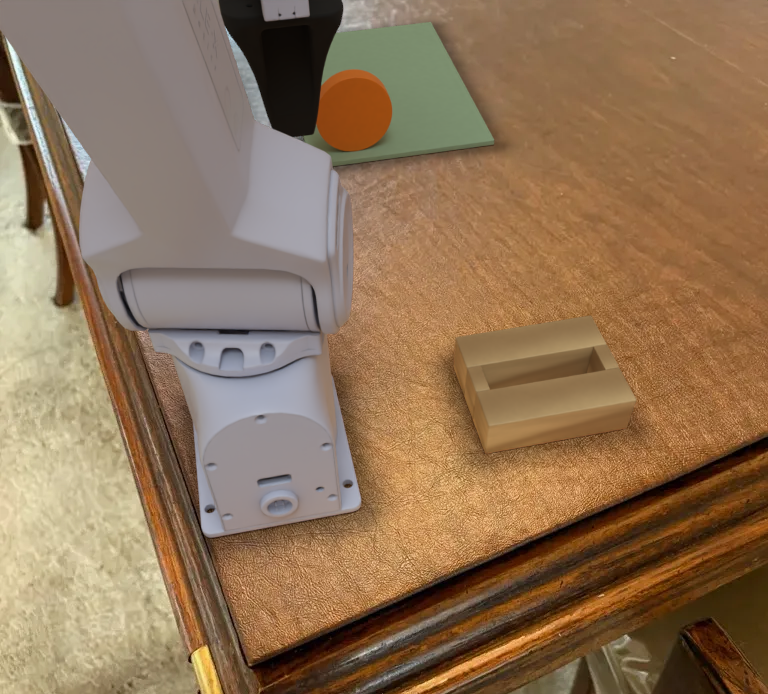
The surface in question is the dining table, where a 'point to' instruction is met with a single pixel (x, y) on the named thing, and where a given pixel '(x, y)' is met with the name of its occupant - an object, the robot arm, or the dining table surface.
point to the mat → (407, 93)
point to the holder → (541, 384)
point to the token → (353, 110)
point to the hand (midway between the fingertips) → (285, 97)
